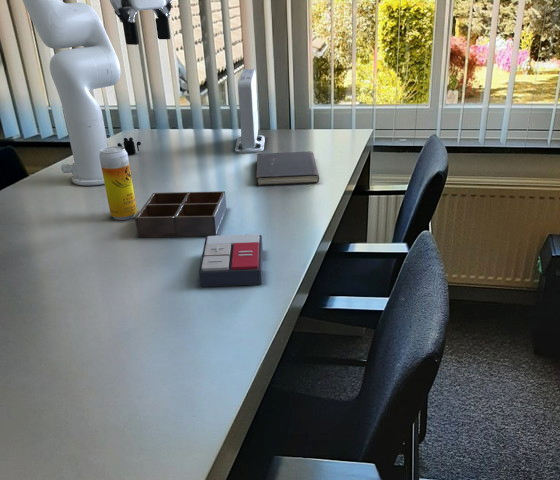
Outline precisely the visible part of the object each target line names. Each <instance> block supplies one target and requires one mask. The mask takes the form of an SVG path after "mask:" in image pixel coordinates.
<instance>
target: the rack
mask: <svg viewBox="0 0 560 480" xmlns="http://www.w3.org/2000/svg"><path fill="white" fill-rule="evenodd" d="M227 209H228V208H227V198H226V191H222V190H221V191H172V192H171V191H170V192H152V193H151V195H150V197H148V199H147V201H146V202H145V203H144V205H143V206H142V208H141V209H140V211H138V212H137V214H136V215H135V217H134V221H135V226H136V232H137V237H138V238H189V237H190V238H191V237H193V238H195V237H203V238H204V237H208V236H218V234H219V230H220V228H221V225H222V223H223V220H224V217H225V215H226V212H227Z"/></svg>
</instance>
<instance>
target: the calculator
mask: <svg viewBox="0 0 560 480" xmlns="http://www.w3.org/2000/svg"><path fill="white" fill-rule="evenodd" d="M263 258H264V249H263V236H262V234H259V233H250V234H248V233H247V234H221V235H217V236H205V239H204V244H203V249H202V254H201V259H200V263H199V264H200V265H199V270H198V273H199V274H198V277H199V283H200V287H202V288H212V287H236V286H237V287H238V286H261V285H262V284H263Z"/></svg>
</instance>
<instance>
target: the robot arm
mask: <svg viewBox="0 0 560 480" xmlns="http://www.w3.org/2000/svg"><path fill="white" fill-rule="evenodd" d="M109 2H110V4H111V7H112V9H113V10H114V14H115V15H116V16H117V17H118V18H119V22H120V23H122V27H123V33H124V40H125V44H126V45H129V46H137V45H140V39H139V31H138V25H137V21H134V20H135V16H136V14H137V12H138V11H139V12H140V11H148V10H152V11H153V13H154V14H155V16H156V17H155V18H154V19H155V21H154V22H155V28H156V29H155V30H156V35H157V39H158V40H171V38H172V37H171V30H170V23H169V21H170V20H169V18H170V17H171V13H170V12H171V11H172V7H173V6H172V3H173V0H109ZM22 3H23V5H24V7H25V9H26V11H27V14H28V15H29V17H30V20H31V22H32V24H33V26H34V28H35V30H36V32H37V35H38V36H39V38H40V41H42V43H43V44H44V45H45V47H48V48H49V49H52V50H53V49H55V50H56V49H57V50H59V49H61V50H59V51H57V52H56V53H54V55H52V57H51V59H50V61H49V72H50V76H51V78H52V81H53V83H54V84H53V85H54V86H55V89H56V92H57V94H58V97H59V101H60V105H61V109H62V113H63V116H64V121H65V126H66V130H67V135H68V139H69V144H70V149H71V153H72V158H73V163H72V164H69V163H64V164H61V166H60V168H61V171H62V173H63V174H72V177H71V181H72V183H73V184H75V185H77V186H78V185H79V186H90V187H91V186H99V185H105V183H104V178H103V173H102V168H101V163H100V158H99V155H100V150H101V149H103V148H107V147H109V143H108V137H107V132H106V127H105V122H104V116H103V112H102V107H101V105H100V103H99V102H98V101H97V100H96V98H95V97H94V95H93V94H92V93H91V92H90V91H92V90H96V89H102V88H107V87H112V86H114V85H116V84H118V83H119V81H120V80H121V76H122V75H121V74H122V70H121V64H120V60H119V58H118V56H117V53H116V51H115V49H114V47H113V45H112V42H111V40H110V37H109V36H108V33H107V31H106V28H105V27H104V24H103V22H102V20H101V18H100V16H99V14H98V13H97V11H96V10H95V9H94V8H93V7H92V6H91V5H90V4H88V3H85V2H64V1H63V0H22ZM77 47H78V48H77ZM69 48H70V49H69ZM62 49H63V50H62Z"/></svg>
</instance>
